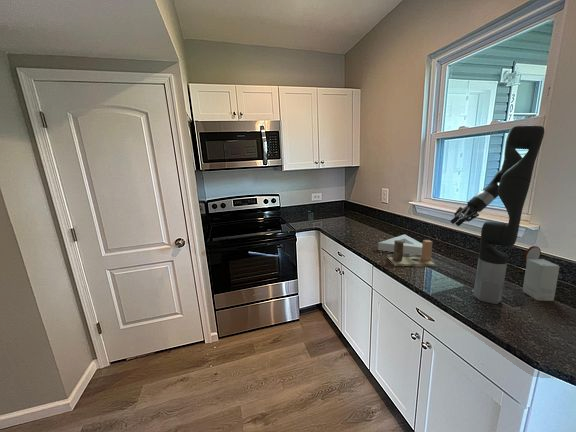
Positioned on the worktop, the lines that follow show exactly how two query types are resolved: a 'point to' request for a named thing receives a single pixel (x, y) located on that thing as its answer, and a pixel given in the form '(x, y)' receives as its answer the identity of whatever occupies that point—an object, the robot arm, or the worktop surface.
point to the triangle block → (408, 246)
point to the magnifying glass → (532, 253)
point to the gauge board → (411, 261)
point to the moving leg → (426, 250)
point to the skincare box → (540, 279)
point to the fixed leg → (398, 250)
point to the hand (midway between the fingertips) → (454, 223)
